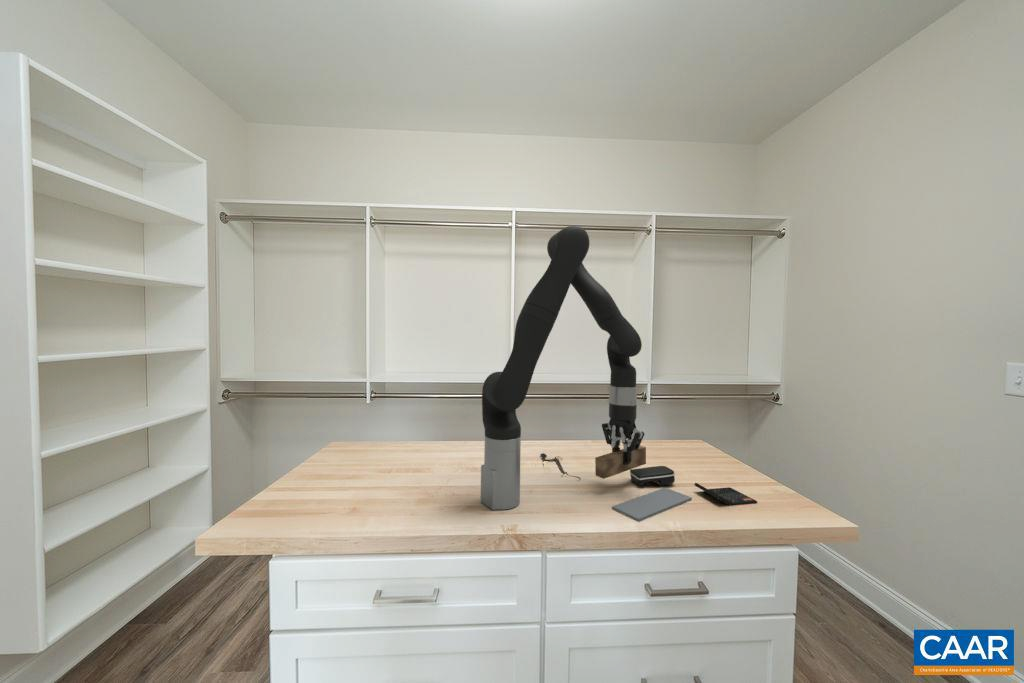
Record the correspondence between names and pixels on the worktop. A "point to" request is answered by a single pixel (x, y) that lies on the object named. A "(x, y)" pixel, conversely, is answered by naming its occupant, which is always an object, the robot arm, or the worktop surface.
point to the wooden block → (618, 462)
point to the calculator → (728, 495)
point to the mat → (651, 503)
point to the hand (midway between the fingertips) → (621, 462)
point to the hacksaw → (556, 462)
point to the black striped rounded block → (653, 475)
